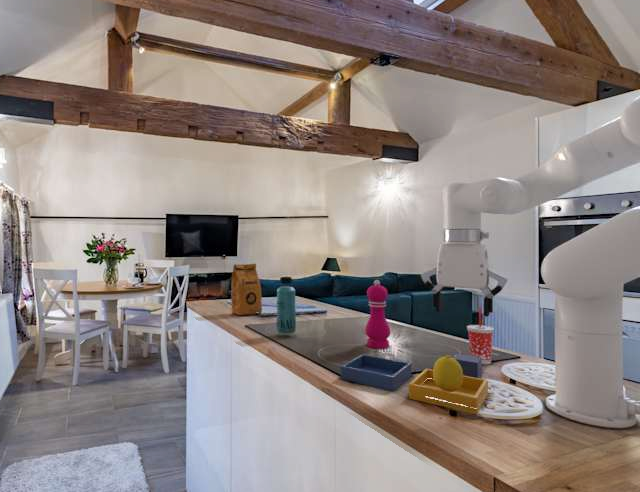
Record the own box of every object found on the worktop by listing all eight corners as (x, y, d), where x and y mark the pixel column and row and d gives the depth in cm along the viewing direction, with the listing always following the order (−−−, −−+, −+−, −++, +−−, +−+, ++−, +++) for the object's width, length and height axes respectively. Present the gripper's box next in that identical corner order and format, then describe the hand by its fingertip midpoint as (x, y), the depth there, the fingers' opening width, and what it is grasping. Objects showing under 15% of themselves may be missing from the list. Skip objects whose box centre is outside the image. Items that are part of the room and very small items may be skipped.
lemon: (467, 400, 80) (466, 359, 80) (437, 398, 81) (436, 358, 81) (458, 389, 86) (457, 352, 86) (430, 388, 87) (429, 350, 87)
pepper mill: (364, 347, 120) (363, 280, 121) (366, 341, 127) (365, 278, 127) (390, 350, 118) (389, 281, 118) (390, 343, 124) (389, 279, 125)
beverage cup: (489, 367, 102) (489, 311, 102) (463, 361, 106) (462, 308, 106) (497, 361, 106) (497, 308, 106) (472, 356, 110) (471, 305, 110)
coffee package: (264, 315, 173) (263, 263, 173) (237, 317, 169) (236, 264, 169) (255, 311, 183) (254, 262, 183) (229, 313, 178) (228, 263, 178)
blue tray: (411, 375, 96) (411, 363, 96) (393, 391, 87) (393, 377, 87) (362, 365, 104) (362, 354, 104) (340, 379, 95) (340, 366, 95)
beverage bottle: (282, 332, 141) (282, 275, 141) (299, 335, 137) (299, 276, 137) (273, 336, 136) (272, 277, 136) (290, 339, 132) (289, 278, 132)
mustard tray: (488, 394, 84) (487, 380, 84) (477, 414, 75) (476, 398, 75) (426, 381, 92) (425, 368, 92) (409, 398, 83) (408, 383, 83)
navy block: (481, 379, 93) (481, 357, 93) (477, 385, 89) (477, 362, 89) (457, 374, 96) (457, 353, 96) (452, 380, 93) (452, 358, 93)
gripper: (509, 237, 89) (509, 314, 89) (425, 237, 100) (425, 306, 100) (505, 237, 83) (505, 320, 83) (416, 237, 94) (417, 311, 94)
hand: (462, 312), depth 92 cm, fingers open, 9 cm apart
